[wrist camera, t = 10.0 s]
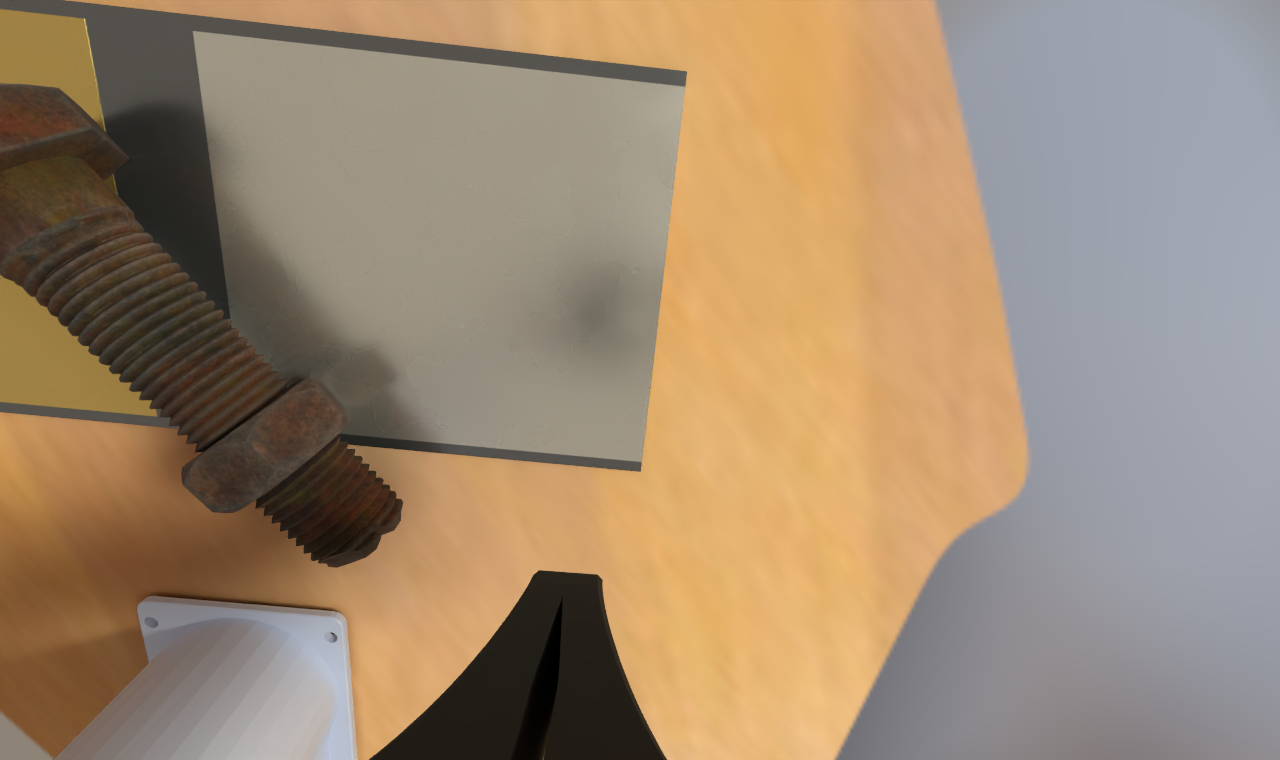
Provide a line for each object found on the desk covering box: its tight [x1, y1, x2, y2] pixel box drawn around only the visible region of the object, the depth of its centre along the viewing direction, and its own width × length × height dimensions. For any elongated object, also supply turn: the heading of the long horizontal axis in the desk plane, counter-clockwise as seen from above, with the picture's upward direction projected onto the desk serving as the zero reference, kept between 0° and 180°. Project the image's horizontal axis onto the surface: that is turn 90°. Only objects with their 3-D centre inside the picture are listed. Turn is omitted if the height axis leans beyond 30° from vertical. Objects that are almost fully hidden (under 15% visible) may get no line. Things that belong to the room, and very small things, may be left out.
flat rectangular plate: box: [0, 0, 687, 472], centre depth 19 cm, size 13×28×1 cm, turn 84°
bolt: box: [0, 83, 403, 568], centre depth 18 cm, size 6×5×15 cm
